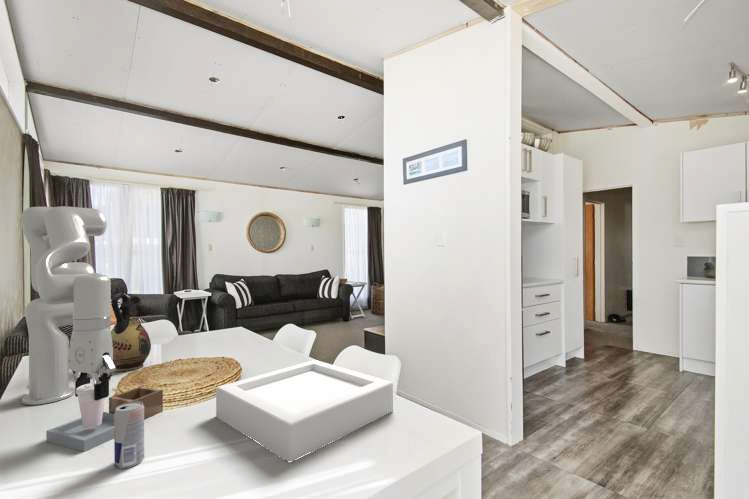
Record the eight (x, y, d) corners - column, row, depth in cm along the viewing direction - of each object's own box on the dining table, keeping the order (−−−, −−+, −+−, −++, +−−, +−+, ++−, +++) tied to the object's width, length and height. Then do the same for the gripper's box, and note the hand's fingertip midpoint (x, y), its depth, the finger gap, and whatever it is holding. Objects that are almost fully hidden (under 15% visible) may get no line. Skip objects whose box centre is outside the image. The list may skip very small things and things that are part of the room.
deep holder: (108, 419, 100) (108, 397, 100) (140, 407, 109) (140, 386, 109) (132, 425, 97) (132, 402, 97) (162, 411, 105) (162, 390, 106)
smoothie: (90, 432, 88) (90, 373, 89) (68, 430, 90) (68, 372, 90) (114, 420, 95) (114, 365, 95) (93, 418, 96) (93, 364, 96)
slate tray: (46, 441, 89) (46, 430, 89) (98, 420, 100) (98, 410, 100) (84, 451, 84) (84, 440, 84) (135, 428, 95) (135, 418, 95)
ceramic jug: (126, 362, 155) (126, 290, 156) (159, 363, 153) (159, 290, 154) (89, 375, 139) (89, 295, 139) (126, 376, 136) (126, 295, 137)
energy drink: (123, 456, 82) (123, 401, 82) (149, 454, 82) (149, 400, 82) (108, 470, 77) (108, 412, 77) (135, 468, 77) (135, 410, 77)
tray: (215, 418, 102) (215, 386, 102) (315, 384, 128) (315, 359, 128) (290, 466, 78) (289, 424, 78) (394, 412, 104) (394, 381, 104)
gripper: (53, 325, 92) (52, 397, 92) (99, 329, 86) (99, 407, 86) (85, 320, 99) (85, 387, 99) (130, 323, 93) (130, 395, 93)
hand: (92, 395), depth 92 cm, fingers closed on smoothie, 6 cm apart
